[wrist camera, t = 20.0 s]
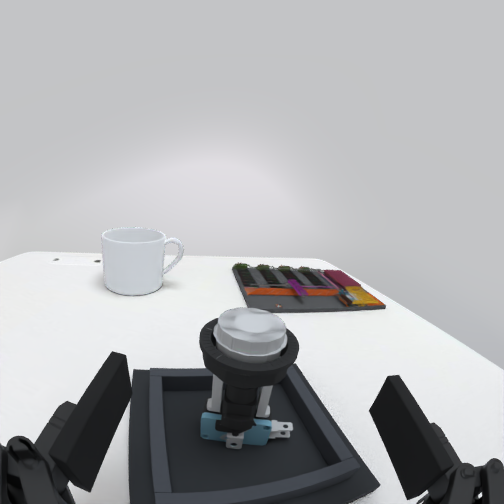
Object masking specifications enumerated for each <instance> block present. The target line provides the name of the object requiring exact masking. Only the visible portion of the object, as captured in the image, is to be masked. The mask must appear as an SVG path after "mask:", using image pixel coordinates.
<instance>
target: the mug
mask: <svg viewBox="0 0 504 504" xmlns="http://www.w3.org/2000/svg"><path fill="white" fill-rule="evenodd" d="M101 240H102V257H103V269H104V279H105V285H106V287H107V288H108V289H109V290H111V291H113V292H115V293H118V294H122V295H132V296H135V295H144V294H149V293H152V292H154V291H156V290H158V289H159V288H160V287H161V285H162V278H163V274H166V273H167V272H168V271H169V270H170V269H172V268H173V267H174V266H175V265H176V264H177V263H178V262H179V261H180V260H181V258H182V256H183V252H184V249H183V244H182V242H181V241H180V240H179V239H177V238H169V239H167V240H166V235H165V234H164V233H162V232H160V231H157V230H153V229H147V228H135V227H127V228H116V229H111V230H107V231H105V232H104V233H102V235H101ZM168 243H176V244H177V245H178V247H179V253H178V256H177V257H176V259H175V260H174V261H173V262H172V263H171V264H170V265H168V266H167V267H166V268H165V269H163V265H164V253H165V245H166V244H168Z"/></svg>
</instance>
